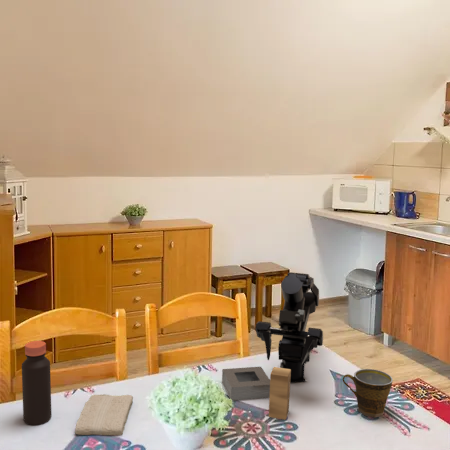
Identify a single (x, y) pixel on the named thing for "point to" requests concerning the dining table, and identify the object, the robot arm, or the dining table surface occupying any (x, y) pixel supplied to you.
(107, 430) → the washcloth
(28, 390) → the bottle
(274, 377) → the oak peg
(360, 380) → the ceramic cup
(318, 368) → the dining table surface
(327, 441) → the dining table surface
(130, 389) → the dining table surface
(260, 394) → the socket block
